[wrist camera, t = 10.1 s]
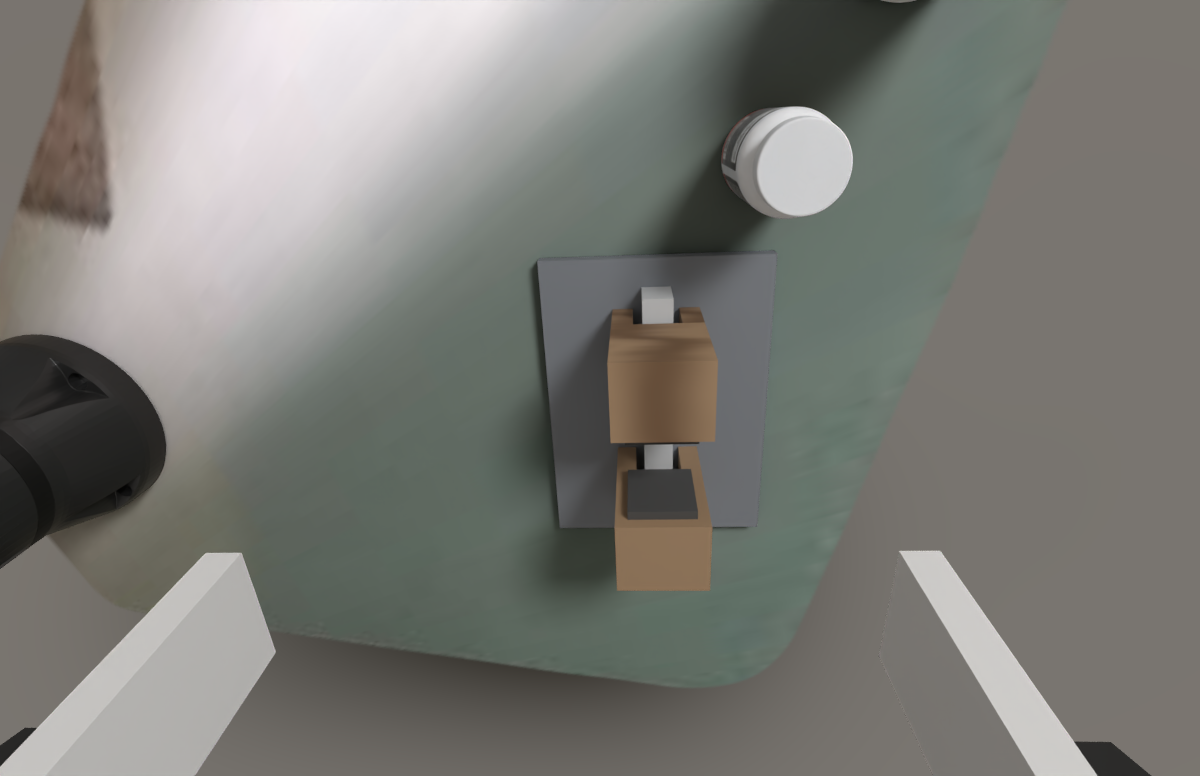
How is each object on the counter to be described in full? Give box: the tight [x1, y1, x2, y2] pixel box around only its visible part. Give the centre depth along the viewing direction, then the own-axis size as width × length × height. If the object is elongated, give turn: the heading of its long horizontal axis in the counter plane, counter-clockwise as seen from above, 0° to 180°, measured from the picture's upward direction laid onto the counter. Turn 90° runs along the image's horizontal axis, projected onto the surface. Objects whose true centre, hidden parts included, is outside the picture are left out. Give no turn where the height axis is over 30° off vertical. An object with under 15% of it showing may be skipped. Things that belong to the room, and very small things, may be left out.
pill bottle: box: [721, 106, 853, 219], centre depth 35 cm, size 6×6×10 cm
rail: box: [537, 250, 777, 591], centre depth 42 cm, size 16×22×11 cm
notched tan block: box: [607, 307, 718, 445], centre depth 39 cm, size 6×6×10 cm
